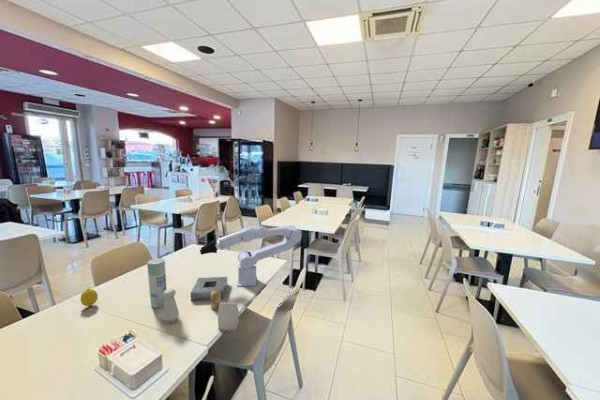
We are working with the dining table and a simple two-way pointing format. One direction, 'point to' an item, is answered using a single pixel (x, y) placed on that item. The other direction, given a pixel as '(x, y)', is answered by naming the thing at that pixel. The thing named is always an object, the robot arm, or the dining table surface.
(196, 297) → the steel block
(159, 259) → the spray paint can
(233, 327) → the white printed box
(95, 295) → the lemon
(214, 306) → the oak peg
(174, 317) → the salt shaker
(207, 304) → the dining table surface
